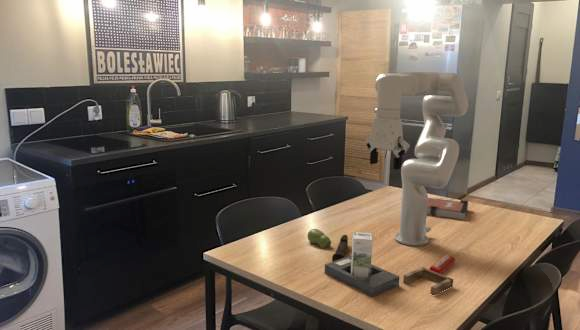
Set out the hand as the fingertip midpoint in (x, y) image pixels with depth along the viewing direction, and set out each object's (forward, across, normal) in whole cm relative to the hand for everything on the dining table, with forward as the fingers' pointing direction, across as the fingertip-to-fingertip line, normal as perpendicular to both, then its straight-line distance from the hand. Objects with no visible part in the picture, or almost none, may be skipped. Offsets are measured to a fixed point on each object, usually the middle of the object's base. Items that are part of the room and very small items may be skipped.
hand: (385, 166), depth 155 cm
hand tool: (+33, -12, -7) cm, 36 cm away
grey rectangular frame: (+33, +6, -16) cm, 37 cm away
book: (+35, -21, +65) cm, 77 cm away
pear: (+33, -23, -6) cm, 41 cm away
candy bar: (+34, +16, +12) cm, 39 cm away
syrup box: (+33, +6, -16) cm, 37 cm away
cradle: (+33, +21, -3) cm, 39 cm away
